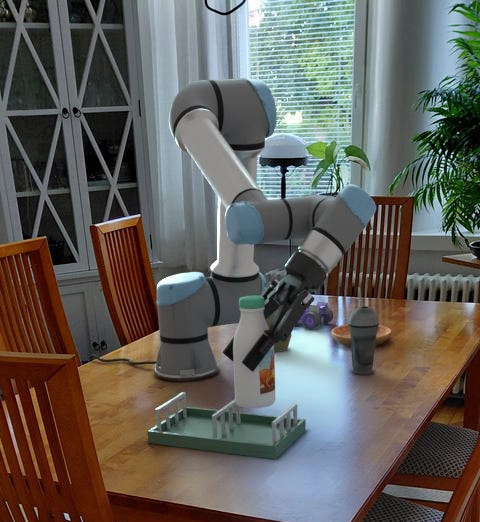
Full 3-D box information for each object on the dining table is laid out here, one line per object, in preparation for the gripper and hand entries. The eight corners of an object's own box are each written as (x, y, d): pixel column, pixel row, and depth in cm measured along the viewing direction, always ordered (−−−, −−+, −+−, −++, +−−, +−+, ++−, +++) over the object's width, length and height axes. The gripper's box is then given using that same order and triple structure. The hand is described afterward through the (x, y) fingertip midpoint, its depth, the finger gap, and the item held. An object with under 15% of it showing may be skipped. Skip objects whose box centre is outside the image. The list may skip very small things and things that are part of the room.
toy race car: (290, 318, 262) (290, 296, 260) (333, 323, 254) (333, 301, 252) (272, 325, 256) (272, 303, 253) (316, 330, 247) (316, 307, 245)
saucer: (394, 347, 228) (395, 336, 226) (333, 349, 228) (334, 338, 227) (386, 332, 242) (387, 322, 241) (329, 335, 243) (329, 324, 241)
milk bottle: (247, 412, 162) (242, 303, 153) (228, 401, 168) (223, 296, 159) (283, 404, 165) (280, 297, 156) (263, 394, 171) (260, 291, 162)
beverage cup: (376, 376, 205) (379, 290, 196) (345, 375, 206) (347, 290, 198) (378, 367, 211) (381, 284, 203) (348, 367, 213) (350, 284, 204)
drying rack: (148, 443, 171) (145, 412, 168) (186, 417, 184) (183, 388, 181) (275, 459, 160) (274, 426, 157) (305, 431, 173) (305, 400, 170)
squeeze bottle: (297, 347, 232) (296, 278, 224) (282, 354, 226) (280, 284, 218) (271, 344, 236) (269, 276, 228) (255, 351, 230) (253, 282, 222)
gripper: (354, 284, 154) (276, 387, 155) (297, 268, 171) (227, 361, 172) (328, 256, 150) (248, 362, 151) (273, 243, 167) (201, 338, 168)
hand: (237, 361), depth 161 cm, fingers closed on milk bottle, 8 cm apart
